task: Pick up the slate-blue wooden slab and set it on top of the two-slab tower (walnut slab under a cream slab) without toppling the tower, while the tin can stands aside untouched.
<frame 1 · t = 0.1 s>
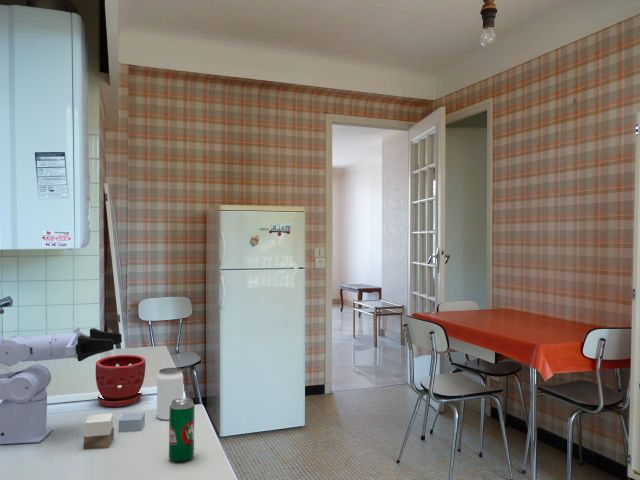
hand: (117, 341, 116), 22 cm above the table, tool horizontal, fingers open, 7 cm apart
can: (169, 417, 127), on the table
walnut block: (99, 445, 109), on the table, touching cream block
cream block: (99, 431, 109), point 3 cm above the table, touching walnut block
soda can: (181, 459, 103), on the table
plant pot: (120, 402, 138), on the table
slate block: (131, 428, 119), on the table
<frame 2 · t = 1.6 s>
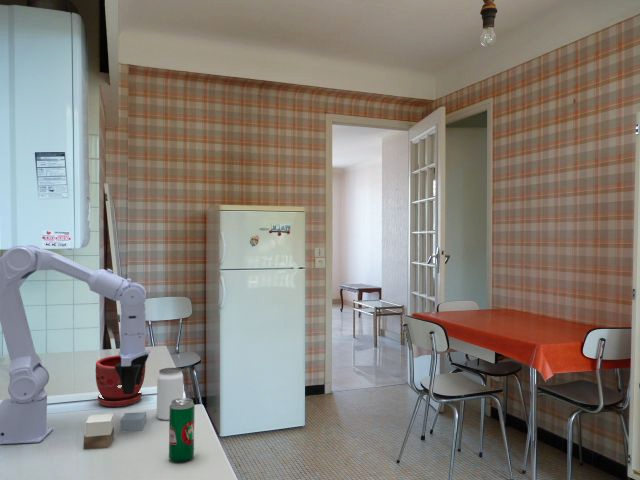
hand: (132, 389, 119), 9 cm above the table, tool pointing down, fingers open, 7 cm apart
walnut block: (99, 445, 109), on the table
cream block: (99, 431, 109), point 3 cm above the table
everything else where it was.
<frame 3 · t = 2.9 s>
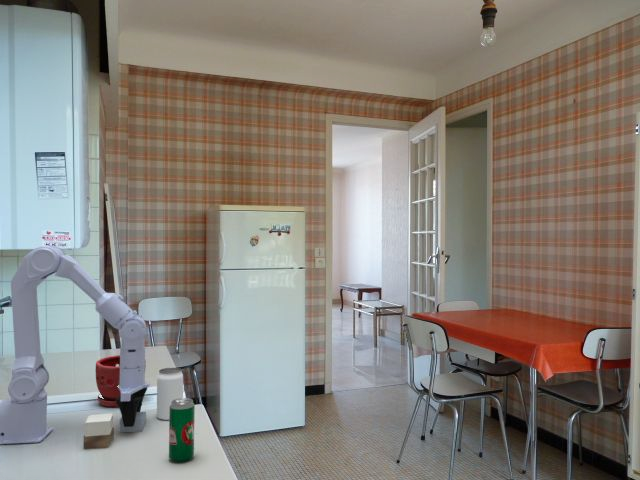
hand: (131, 422, 119), 1 cm above the table, tool pointing down, fingers closed on slate block, 5 cm apart
walnut block: (98, 444, 110), on the table, touching cream block
cream block: (99, 431, 109), point 3 cm above the table, touching walnut block
slate block: (133, 427, 119), on the table, touching gripper
everything else where it was.
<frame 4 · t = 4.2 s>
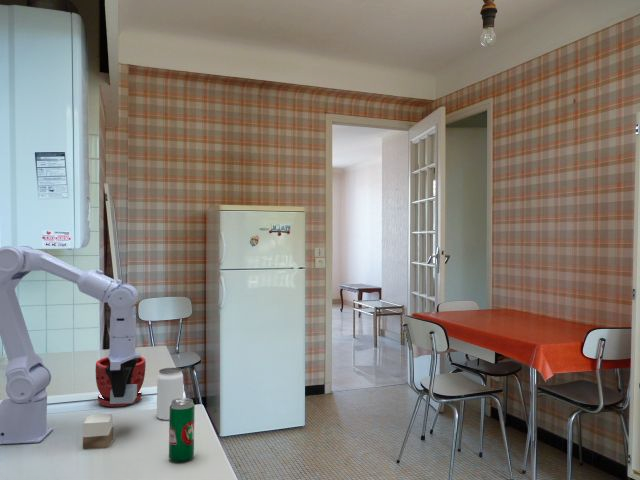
hand: (121, 393, 116), 9 cm above the table, tool pointing down, fingers closed on slate block, 5 cm apart
slate block: (123, 400, 116), point 8 cm above the table, touching gripper
everything else where it was.
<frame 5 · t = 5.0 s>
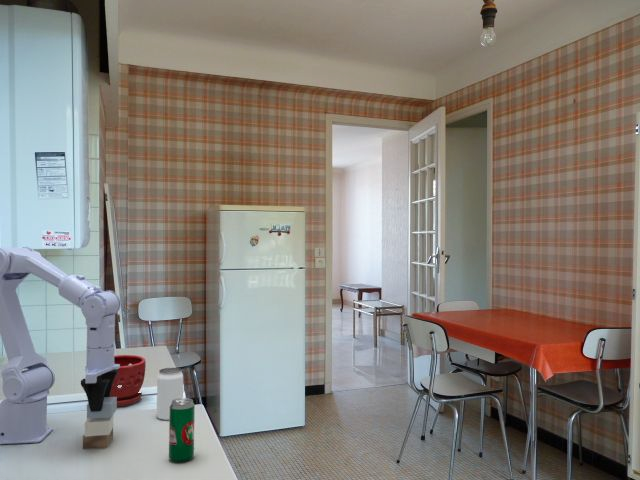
hand: (99, 406, 110), 8 cm above the table, tool pointing down, fingers closed on slate block, 5 cm apart
slate block: (102, 414, 110), point 7 cm above the table, touching gripper
everything else where it was.
when the fingers open (8 cm above the table, at t = 5.4 s): slate block stays where it is, resting on cream block.
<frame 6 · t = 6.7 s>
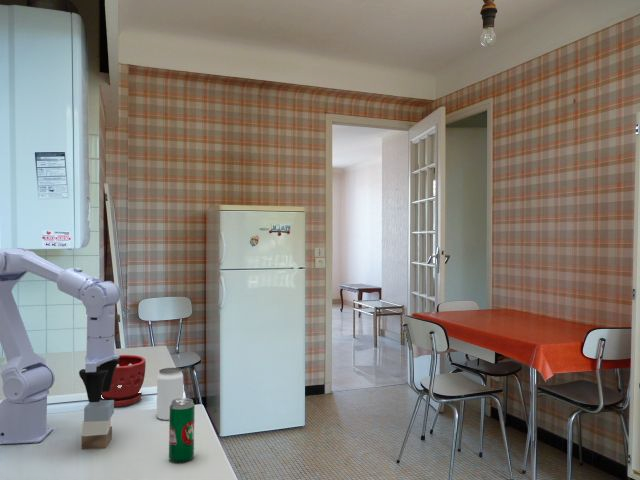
hand: (99, 396, 110), 10 cm above the table, tool pointing down, fingers open, 7 cm apart
cream block: (96, 431, 109), point 3 cm above the table, touching slate block, walnut block
slate block: (99, 417, 110), point 6 cm above the table, touching cream block
everything else where it was.
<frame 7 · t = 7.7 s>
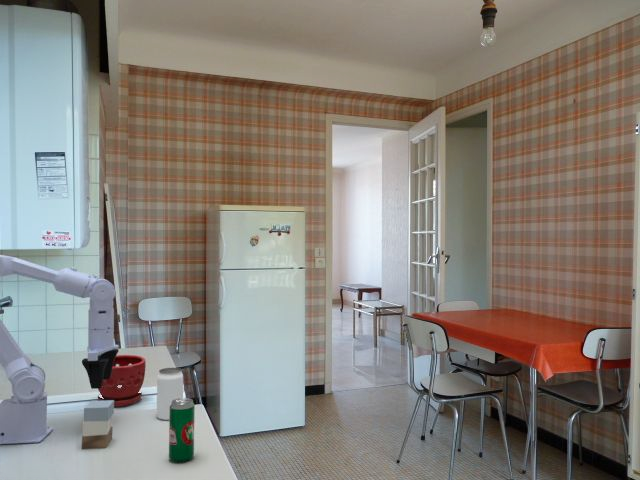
hand: (100, 383, 120), 10 cm above the table, tool pointing down, fingers open, 7 cm apart
nothing on the table moved.
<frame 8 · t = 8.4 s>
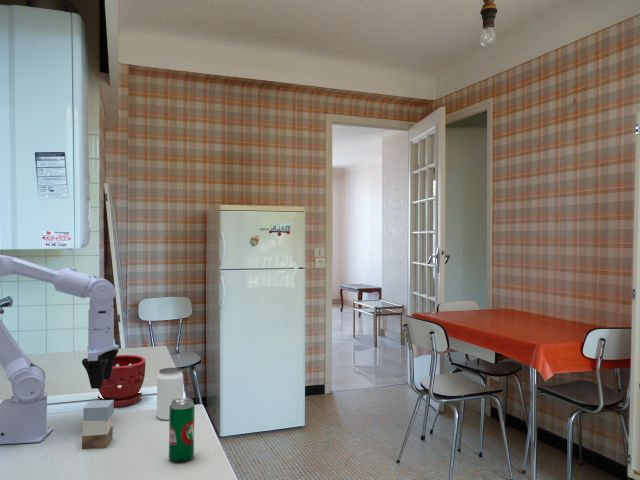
hand: (100, 383, 120), 10 cm above the table, tool pointing down, fingers open, 7 cm apart
nothing on the table moved.
at the end: slate block 0.1 cm off-centre on the walnut block, point 6.0 cm above the walnut block's base; cream block 0.1 cm off-centre on the walnut block, point 3.0 cm above the walnut block's base; slate block tilted 0° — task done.
